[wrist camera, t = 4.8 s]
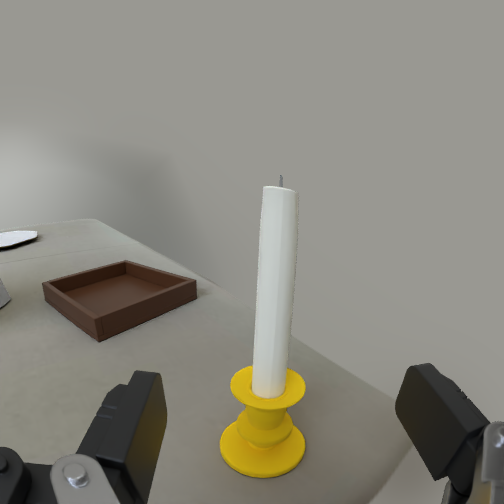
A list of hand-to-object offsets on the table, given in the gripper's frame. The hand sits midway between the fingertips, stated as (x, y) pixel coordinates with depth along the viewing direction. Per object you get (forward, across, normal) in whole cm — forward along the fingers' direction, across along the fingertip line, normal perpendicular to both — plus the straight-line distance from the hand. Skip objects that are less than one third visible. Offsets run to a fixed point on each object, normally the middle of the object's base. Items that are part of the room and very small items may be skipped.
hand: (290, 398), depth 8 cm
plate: (+59, +75, +9) cm, 96 cm away
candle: (+5, 0, +9) cm, 11 cm away
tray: (+27, +18, +9) cm, 34 cm away
